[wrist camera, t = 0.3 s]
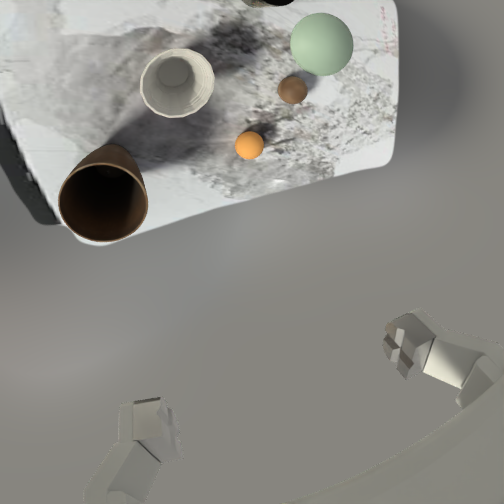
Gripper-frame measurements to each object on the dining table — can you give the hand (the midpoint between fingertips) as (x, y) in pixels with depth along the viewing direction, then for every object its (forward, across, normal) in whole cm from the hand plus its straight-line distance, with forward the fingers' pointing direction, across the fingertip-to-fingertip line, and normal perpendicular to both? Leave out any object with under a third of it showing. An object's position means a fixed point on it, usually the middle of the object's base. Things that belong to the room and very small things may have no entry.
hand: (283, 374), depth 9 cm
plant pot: (+54, +15, -4) cm, 56 cm away
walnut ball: (+48, -21, -10) cm, 54 cm away
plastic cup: (+49, 0, -17) cm, 52 cm away
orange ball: (+52, -12, 0) cm, 53 cm away
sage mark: (+48, -29, -19) cm, 59 cm away
